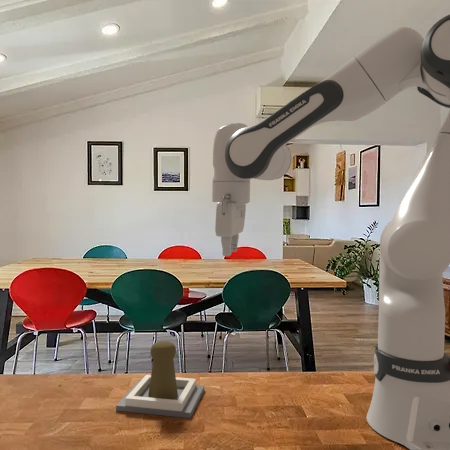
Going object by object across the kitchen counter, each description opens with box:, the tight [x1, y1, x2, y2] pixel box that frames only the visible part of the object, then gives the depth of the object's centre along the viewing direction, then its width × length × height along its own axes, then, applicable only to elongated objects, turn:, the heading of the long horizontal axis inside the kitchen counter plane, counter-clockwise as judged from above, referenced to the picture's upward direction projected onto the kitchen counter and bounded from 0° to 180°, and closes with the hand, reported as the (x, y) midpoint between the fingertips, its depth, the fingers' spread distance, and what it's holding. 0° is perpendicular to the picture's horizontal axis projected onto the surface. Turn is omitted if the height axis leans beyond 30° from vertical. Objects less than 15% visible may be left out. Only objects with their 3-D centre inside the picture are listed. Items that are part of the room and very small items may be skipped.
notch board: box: [115, 374, 205, 419], centre depth 83 cm, size 15×12×2 cm
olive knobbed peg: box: [148, 340, 178, 400], centre depth 83 cm, size 6×6×11 cm
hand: (230, 253), depth 95 cm, fingers open, 8 cm apart
